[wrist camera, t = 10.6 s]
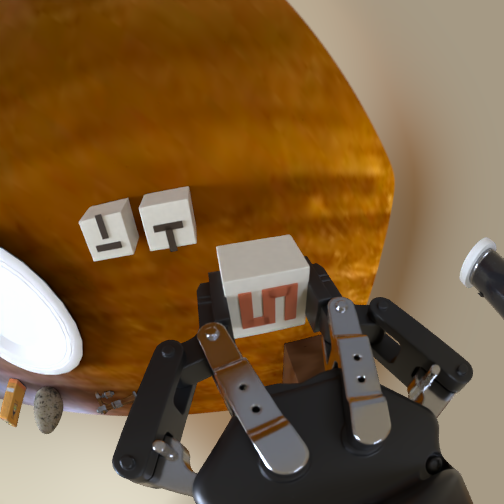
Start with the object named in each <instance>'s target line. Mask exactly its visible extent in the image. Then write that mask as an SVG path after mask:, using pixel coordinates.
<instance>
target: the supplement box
mask: <svg viewBox="0 0 504 504" xmlns="http://www.w3.org/2000/svg"><path fill="white" fill-rule="evenodd" d="M25 390H26V387H25V386H24V385H23V384H22V383H21V382H20V381H19V380H18V379H13V378H10V379H9V382H8V385H7V389H6V392H5V396H4V399H3V403H2V407H1V412H0V418H1V419H2V420H3V421H5V422H6V423H8V424H9V425H11V426H14V427H17V423H18V418H19V413H20V409H21V405H22V401H23V397H24V394H25Z"/></svg>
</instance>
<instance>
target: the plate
mask: <svg viewBox="0 0 504 504" xmlns="http://www.w3.org/2000/svg"><path fill="white" fill-rule="evenodd" d="M82 356H83V344H82V338H81V335H80V333H79V330H78V327H77V324H76V322H75V320H74V319H73V317H72V316H71V314H70V313H69V311H68V309H67V308H66V306H65V305H64V303H63V302H62V300H61V299H60V298H59V297H58V296H57V295H56V294H55V292H54V291H53V290H52V289H51V288H50V286H49V285H48V284H47V283H46V282H45V281H44V280H43V279H42V278H41V277H40V276H39V275H38V274H36V273H35V272H34V271H33V270H32V269H31V268H30V267H29V266H28V265H27V264H26V263H25V262H23V261H22V260H20V259H19V258H17V257H16V256H14V255H13V254H11V253H10V252H8V251H7V250H5V249H4V248H3V247H0V357H2V358H3V359H5V360H7V361H8V362H10V363H12V364H14V365H16V366H18V367H20V368H23V369H25V370H28V371H31V372H35V373H40V374H48V375H58V374H62V373H67V372H70V371H71V370H72V369H74V368H75V367H77V366H78V364H79V362H80V360H81V358H82Z"/></svg>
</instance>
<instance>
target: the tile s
mask: <svg viewBox="0 0 504 504" xmlns="http://www.w3.org/2000/svg"><path fill="white" fill-rule="evenodd" d="M216 249H217V255H218V261H219V267H220V273H221V278H222V284H223V289H224V295H225V297H227V303H228V308H229V313H230V318H231V323H232V329H233V334H234V339H236V338H241V337H246V336H252V335H257V334H262V333H267V332H271V331H276V330H281V329H285V328H290V327H294V326H298V325H303V324H305V316H306V315H305V309H306V298H307V287H308V282H309V273H310V266H309V264H308V263H307V261H306V259H305V258H304V256H303V255H302V253H301V251H300V250H299V248H298V247H297V245H296V243H295V242H294V240H293V239H292V237H291V235H284V236H277V237H271V238H265V239H259V240H253V241H246V242H240V243H234V244H228V245H222V246H217V247H216Z"/></svg>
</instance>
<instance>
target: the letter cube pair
mask: <svg viewBox="0 0 504 504" xmlns="http://www.w3.org/2000/svg"><path fill="white" fill-rule="evenodd" d="M139 212H140V216H141V219H142V223H143V227H144V230H145V234H146V237H147V241H148V244H149V247H150V250H151V251H154V250H160V249H166V248H170V251H171V252H173V251H178V250H177V247H178V246H184V245H190V244H196V243H197V237H196V223H195V218H194V212H193V207H192V201H191V195H190V189H189V186H188V187H182V188H176V189H171V190H165V191H160V192H155V193H150V194H145V195H144V197H143V199H142V202H141V204H140V206H139ZM79 224H80V227H81V229H82V232H83V235H84V237H85V240H86V242H87V245H88V248H89V250H90V253H91V255H92V257H93V260H94V261H99V260H105V259H110V258H116V257H121V256H127V255H132V254H134V252H135V249H136V245H137V242H138V239H139V235H138V231H137V228H136V224H135V221H134V217H133V214H132V210H131V206H130V203H129V199H128V198H126V199H121V200H117V201H113V202H108V203H104V204H100V205H96V206H92V207H89V209H88V210H87V211H86V213H85V214H84V215H83V217H82V218H81V219H80V221H79Z"/></svg>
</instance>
